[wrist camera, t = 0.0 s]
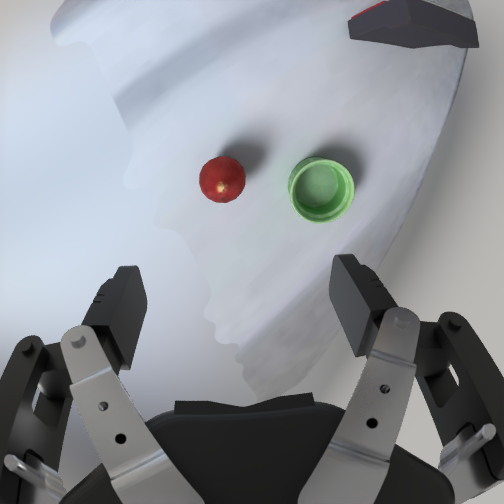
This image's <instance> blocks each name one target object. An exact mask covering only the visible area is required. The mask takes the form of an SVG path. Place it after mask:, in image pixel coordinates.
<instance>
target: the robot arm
mask: <svg viewBox="0 0 504 504" xmlns="http://www.w3.org/2000/svg"><path fill="white" fill-rule="evenodd" d="M329 296H330V300H331V302H332V304H333V307H334V309H335V311H336V313H337V316H338V318H339V320H340V322H341V325H342V327H343V329H344V332H345V334H346V336H347V338H348V341H349V343H350V346H351V348H352V350H353V353H354V355H355V357H359V356H365V355H366V358H367V362H366V364H365V367H364V369H363V372H362V374H361V377H360V379H359V381H358V384H357V386H356V388H355V390H354V393H353V395H352V397H351V399H350V401H349V403H348V406H347V408H346V410H344V409H342V408H340V407H337V406H335V405H331V404H328V403H322V402H315V401H314V398H313V394H312V392H311V393H304V394H297V395H288V396H280V397H276V398H273V399H270V400H267V401H263V402H260V403H257V404H254V405H250V406H247V407H239V406H233V405H227V404H222V403H217V402H211V401H175V407H174V410H172V411H168V412H165V413H162V414H160V415H157V416H155V417H153V418H152V419H150V420H148V421H147V422H146V421H145V420H144V418H143V417H142V415H141V414H140V412H139V411H138V409H137V408H136V406H135V405H134V403H133V401H132V400H131V398H130V396H129V394H128V393H127V391H126V389H125V388H124V386H123V384H122V383H121V381H120V379H119V377H118V374H119V371H120V370H130V368H131V364H132V360H133V357H134V353H135V349H136V345H137V342H138V338H139V334H140V331H141V328H142V324H143V321H144V317H145V314H146V311H147V297H146V293H145V289H144V285H143V282H142V278H141V275H140V270H139V268H138V267H137V266H120V267H119V268H118V270H117V272H116V273H115V275H114V277H113V278H112V279H108V280H107V281H106V282H105V283H104V284H103V285H102V286H101V287H100V289H99V291H98V292H97V296H95V298H94V300H93V303H92V304H91V306H90V308H89V310H88V312H87V314H86V316H85V318H84V320H83V322H82V324H81V326H76V327H73V328H71V329H70V330H68V331H67V332H66V333H65V334H64V335H63V337H62V339H61V342H58V343H53V344H49V345H44V343H43V342H42V340H41V339H40V337H38V336H35V335H33V336H32V335H31V336H27V337H25V338H23V339H22V340H21V341H20V342H19V343H18V344H17V345H16V347H15V349H14V351H13V353H12V355H11V357H10V359H9V361H8V363H7V366H6V368H5V370H4V372H3V375H2V377H1V379H0V504H461V503H463V502H465V501H467V500H468V499H471V498H474V497H476V496H478V495H480V494H482V493H484V492H486V491H488V490H490V489H491V488H493V487H495V486H497V485H498V484H500V483H502V482H504V378H503V376H502V374H501V372H500V371H499V369H498V367H497V366H496V364H495V362H494V361H493V359H492V357H491V356H490V354H489V353H488V351H487V349H486V348H485V346H484V345H483V343H482V342H481V340H480V339H479V337H478V336H477V334H476V333H475V331H474V330H473V329H472V327H471V326H470V324H469V323H468V321H467V320H466V319H465V318H464V317H463V316H461V315H460V314H458V313H455V312H444V313H443V314H441V316H440V317H439V320H438V322H424V321H420V320H419V318H418V316H417V315H416V314H415V313H414V312H412V311H410V310H409V309H406V308H403V307H398V305H397V304H396V302H395V301H394V299H393V298H392V297H391V295H390V294H389V292H388V291H387V289H386V288H385V287H384V285H383V283H382V282H381V281H380V280H379V278H378V276H377V275H376V273H375V272H374V271H373V270H371V269H370V268H369V267H367V266H366V265H360V263H359V262H358V260H357V259H356V257H355V256H354V255H353V254H341V255H335V256H334V258H333V263H332V270H331V277H330V283H329ZM450 364H451V365H452V367H453V368H454V370H455V372H456V374H457V376H458V379H459V386H458V385H457V383H456V381H455V379H454V377H453V376H452V374H451V372H450V370H449V366H450ZM414 377H416V379H417V382H418V384H419V386H420V389H421V391H422V393H423V395H424V398H425V400H426V403H427V405H428V408H429V410H430V413H431V415H432V418H433V420H434V423H435V425H436V428H437V431H438V434H439V436H440V439H441V442H442V445H443V449H442V451H441V455H440V463H439V465H438V469H439V470H438V469H436V468H434V467H433V466H431V465H429V464H428V463H426V462H424V461H423V460H421V459H419V458H418V457H416V456H414V455H413V454H411V453H409V452H408V451H406V450H405V449H403V448H401V447H400V446H398V445H397V444H395V442H396V439H397V436H398V434H399V430H400V427H401V424H402V421H403V418H404V415H405V411H406V408H407V404H408V400H409V397H410V393H411V389H412V385H413V381H414ZM37 388H38V389H39V390H40V394H39V397H38V400H37V404H36V407H35V410H34V412H33V409H32V401H33V398H34V395H35V392H36V389H37ZM73 399H74V401H75V404H76V406H77V409H78V411H79V414H80V416H81V418H82V421H83V423H84V426H85V428H86V430H87V432H88V434H89V437H90V439H91V441H92V443H93V445H94V447H95V449H96V451H97V453H98V455H99V457H100V459H101V461H102V463H101V464H100V465H99V466H98V467H97V468H95V469H94V470H93V471H92V472H91V473H90V474H89V475H88V476H86V477H85V478H84V479H83V480H82V481H81V482H80V483H79V484H77V485H76V486H75V487H74V488H73V489H72V490H71V491H69V492H68V493H67V494H66V489H65V488H64V487H63V481H62V479H61V477H60V475H59V474H58V468H59V462H60V456H61V450H62V445H63V440H64V435H65V430H66V426H67V421H68V417H69V412H70V409H71V405H72V401H73Z"/></svg>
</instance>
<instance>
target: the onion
mask: <svg viewBox="0 0 504 504" xmlns="http://www.w3.org/2000/svg"><path fill="white" fill-rule="evenodd" d="M199 184H200V187H201V190H202V192H203V194H204V195H205V196H206V197H207V198H208V199H210V200H212V201H214V202H217V203H227V202H229V201H232V200H234V199H236V198H237V197H238V196H239V195H240V194H241V193H242V191H243V189H244V187H245V172H244V169H243V167H242V166H241V165H240V164H239V163H238V162H237V161H236V160H235V159H232V158H230V157H217V158H214V159H211V160H210V161H208V162H207V163H206V164H205V165H204V166H203V168H202V170H201V172H200V177H199Z"/></svg>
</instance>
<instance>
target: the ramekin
mask: <svg viewBox="0 0 504 504" xmlns="http://www.w3.org/2000/svg"><path fill="white" fill-rule="evenodd" d="M288 190H289V194H290V199H291V203H292V206H293V208H294V210H295V211H296V212H297V214H298V215H299V216H300V217H302V218H303V219H304V220H306V221H309V222H311V223H317V224H323V223H328V222H331V221H334V220H336V219H338V218H339V217H341V216H342V215H343V214H344V213H345V212H346V211H347V210H348V208H349V207H350V205H351V203H352V201H353V198H354V192H355V187H354V181H353V178H352V176H351V174H350V172H349V171H348V170H347V169H346V168H345V167H344V166H343V165H342V164H340V163H338V162H336V161H334V160H330V159H325V158H320V157H312V158H308V159H305V160H303V161H302V162H300V163H299V164H298V165H297V166H296V167H295V168H294V169H293V171H292V172H291V175H290V177H289V182H288Z"/></svg>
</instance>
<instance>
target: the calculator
mask: <svg viewBox="0 0 504 504" xmlns="http://www.w3.org/2000/svg"><path fill="white" fill-rule="evenodd" d="M348 27H349V34H350V39H355V40H364V41H371V42H379V43H385V44H391V45H397V46H402V47H407V48H421V47H429V46H438V45H453V46H456V47H459V48H479V42H478V35H477V29H476V24H475V21H473V20H471V19H470V18H469V17H467V16H465V15H462V14H460V13H458V12H455V11H453V10H451V9H448V8H446V7H443V6H440V5H438V4H435V3H432V2H429V1H427V0H388V1H382V2H380V3H378V4H376V5H374V6H372V7H370V8H368V9H366V10H364V11H363V12H361V13H359V14H357V15H355V16H353V17H352V19H351V20H349V21H348Z"/></svg>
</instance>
